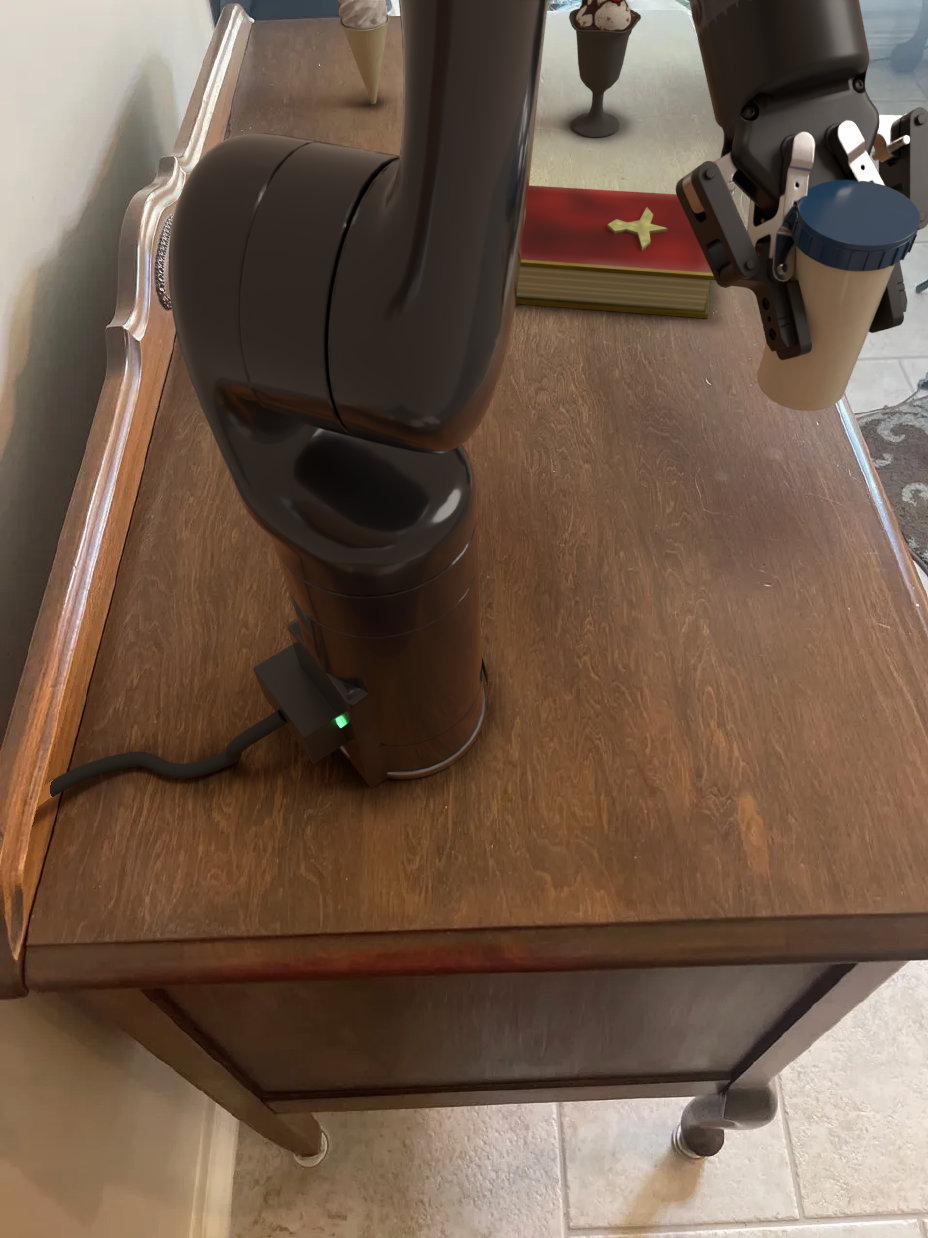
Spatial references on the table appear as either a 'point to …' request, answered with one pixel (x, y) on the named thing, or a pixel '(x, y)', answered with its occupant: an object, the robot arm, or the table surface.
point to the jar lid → (855, 225)
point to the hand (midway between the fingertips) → (841, 341)
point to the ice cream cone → (366, 37)
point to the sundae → (601, 57)
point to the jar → (825, 335)
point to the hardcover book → (612, 253)
